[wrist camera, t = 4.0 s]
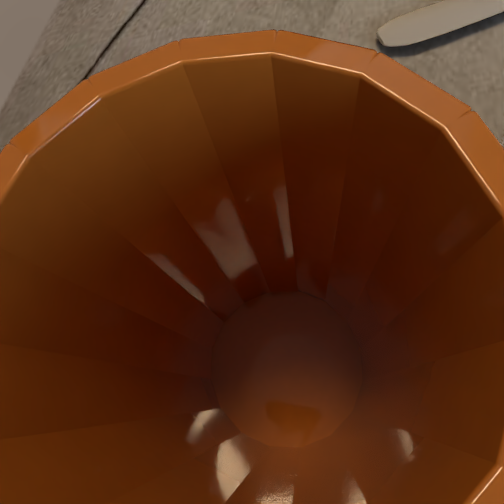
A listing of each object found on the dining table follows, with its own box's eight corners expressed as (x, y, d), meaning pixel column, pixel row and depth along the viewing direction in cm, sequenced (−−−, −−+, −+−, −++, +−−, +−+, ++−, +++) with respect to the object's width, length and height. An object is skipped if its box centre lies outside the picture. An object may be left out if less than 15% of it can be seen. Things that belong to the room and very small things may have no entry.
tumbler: (287, 500, 15) (181, 977, 3) (172, 364, 17) (-175, 286, 5) (408, 366, 16) (737, 267, 4) (284, 254, 18) (230, -42, 6)
